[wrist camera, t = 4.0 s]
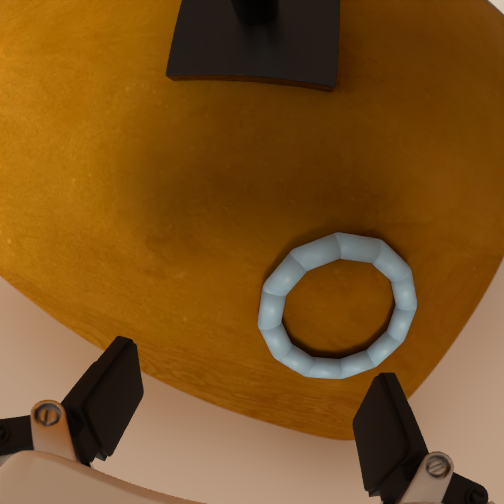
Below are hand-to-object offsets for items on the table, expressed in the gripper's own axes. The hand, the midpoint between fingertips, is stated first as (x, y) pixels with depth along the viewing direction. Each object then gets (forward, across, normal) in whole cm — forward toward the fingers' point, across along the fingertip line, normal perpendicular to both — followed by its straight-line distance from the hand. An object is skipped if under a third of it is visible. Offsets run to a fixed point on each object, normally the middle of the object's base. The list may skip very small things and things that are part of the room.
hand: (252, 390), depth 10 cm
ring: (+7, -5, 0) cm, 8 cm away
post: (+8, +2, -17) cm, 19 cm away
